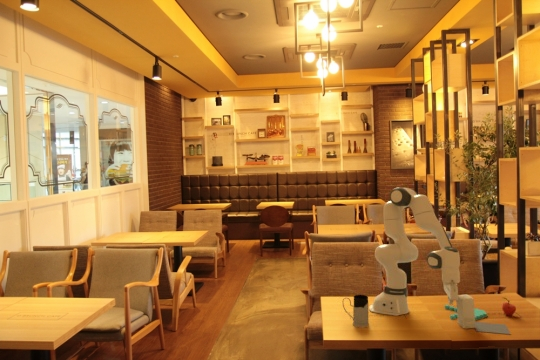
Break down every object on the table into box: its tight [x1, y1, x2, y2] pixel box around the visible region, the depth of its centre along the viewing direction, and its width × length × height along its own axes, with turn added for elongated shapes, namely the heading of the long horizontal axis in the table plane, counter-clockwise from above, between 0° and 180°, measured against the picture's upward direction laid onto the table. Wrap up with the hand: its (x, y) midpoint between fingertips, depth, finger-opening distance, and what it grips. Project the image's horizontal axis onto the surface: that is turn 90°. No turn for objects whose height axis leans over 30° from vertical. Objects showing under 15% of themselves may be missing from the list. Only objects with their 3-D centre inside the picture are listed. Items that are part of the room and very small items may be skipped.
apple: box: [501, 297, 517, 317], centre depth 263 cm, size 8×7×10 cm
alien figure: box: [444, 304, 488, 322], centre depth 266 cm, size 20×2×20 cm
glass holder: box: [342, 294, 370, 328], centre depth 252 cm, size 9×14×15 cm, turn 70°
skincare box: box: [455, 294, 476, 329], centre depth 247 cm, size 8×7×16 cm
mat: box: [474, 321, 512, 336], centre depth 244 cm, size 16×14×1 cm
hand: (450, 303), depth 249 cm, fingers closed
